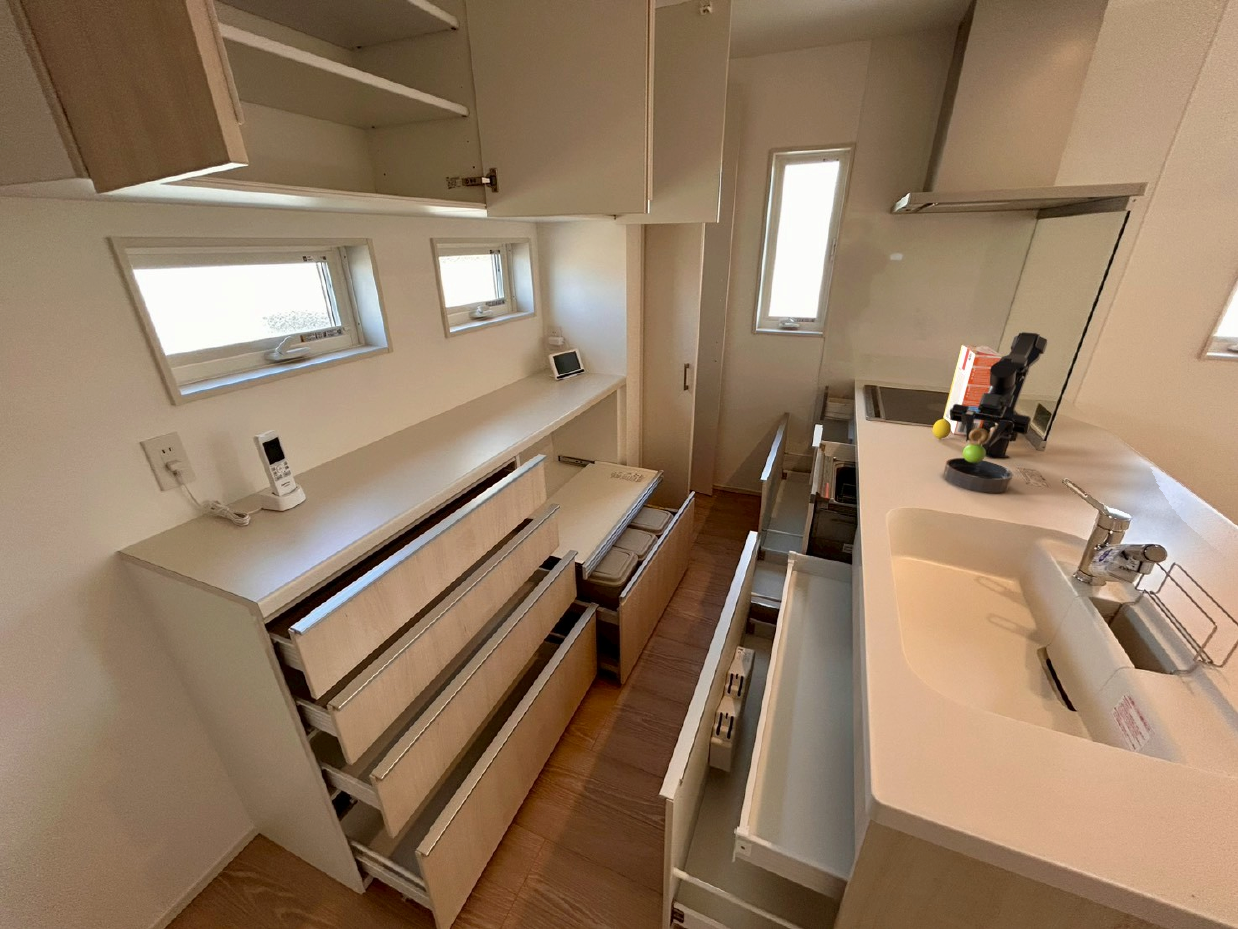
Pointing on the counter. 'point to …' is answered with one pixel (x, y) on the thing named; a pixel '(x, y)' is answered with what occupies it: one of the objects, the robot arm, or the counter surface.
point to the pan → (977, 475)
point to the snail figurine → (977, 444)
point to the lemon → (941, 428)
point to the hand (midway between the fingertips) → (977, 443)
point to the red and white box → (970, 382)
